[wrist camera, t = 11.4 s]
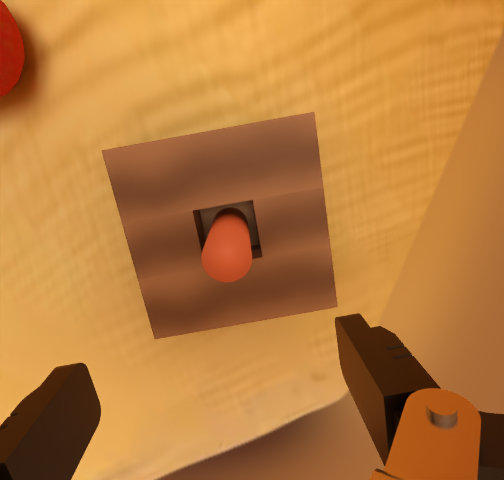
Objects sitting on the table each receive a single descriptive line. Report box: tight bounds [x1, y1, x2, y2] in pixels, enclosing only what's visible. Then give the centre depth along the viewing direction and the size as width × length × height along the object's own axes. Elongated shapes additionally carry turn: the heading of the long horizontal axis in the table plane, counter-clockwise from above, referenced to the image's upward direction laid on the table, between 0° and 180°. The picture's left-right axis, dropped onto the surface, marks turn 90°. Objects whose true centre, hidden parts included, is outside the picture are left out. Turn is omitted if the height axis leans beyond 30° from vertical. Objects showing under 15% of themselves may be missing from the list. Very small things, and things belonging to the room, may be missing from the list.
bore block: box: [102, 112, 337, 339], centre depth 30 cm, size 16×16×5 cm
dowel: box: [201, 207, 252, 282], centre depth 26 cm, size 3×3×10 cm
